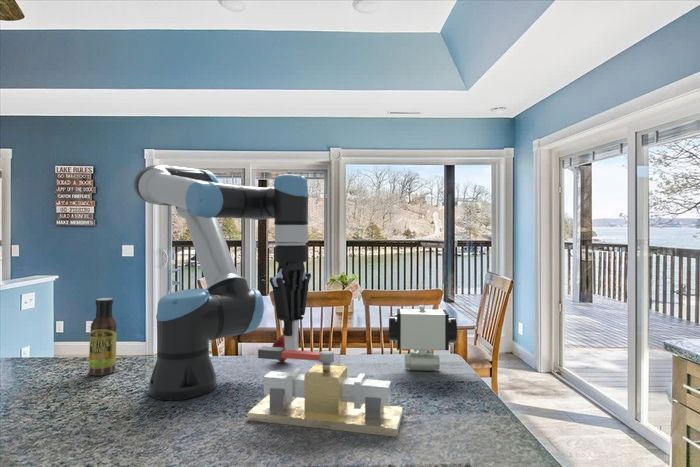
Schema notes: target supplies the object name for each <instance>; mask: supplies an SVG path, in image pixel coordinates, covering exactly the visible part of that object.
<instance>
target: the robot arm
mask: <svg viewBox="0 0 700 467" xmlns="http://www.w3.org/2000/svg"><path fill="white" fill-rule="evenodd" d="M133 190H134V192H135V195H137V197H138V198H139V199H141V200H142V201H143V202H145V203H149V204H150V205H151V204H152V205H158V206H169V207H174V208H175V210H176V212H177V214H178V216H179V217H180V218H182V219H185V222H186V225H187V229H188V232H189V235H190V237H191V240H192V244H193V248H194V250H195V253H196V255H197V259H198V262H199V266H200V268H201V271H202V275H203V278H204V281H205V283H206V288H198V287H197V288H190V289H189V288H186V289H183V290H178V291H177V290H176V291H173V292H170V293H167V294H165V295H163V296H162V297H160V298H159V299H158V302H157V306H156V308H157V310H156V315H155V319H156V351H157V352H156V361H155V364H154V367H153V371H152V373H151V377H150V380H149V383H148V395H149V397H151V398H153V399H156V400H160V401H180V400H188V399H194V398H197V397H200V396H204V395H206V394H207V393H210V392H211V391H213V390H214V389H216V387H217V374H216V371H215V369H214V366H213V362H212V358H211V357H210V352H209V351H210V349H209V348H210V341H212V340H213V341H214V340H219V339H223V338H229V337H233V336H242V335H244V334H247V333H250V332H254V331H255V330H257V329H258V327H259V326H260V324H261V323H262V321H263V318H264V313H265V312H264V311H265V303H264V298H263V295H262V294H261V292H260V290H258V289H257V288H253V287H249V283H248V282H247V279H246V278H245V277H244V276H240V275H239V274H238V273H239V272H238V271H237V269H236V266H235V263H234V260H233V257H232V254H231V252H230V250H229V246H228V243H227V240H226V238H225V235H224V233H223V229H222V227H221V225H220V222H219V219H220V218H221V219H222V218H225V219H227V218H228V219H229V218H230V219H249V220H259V221H262V220H271V219H273V220H274V222H273V224H274V243H276V245H275V246H274V249H273V250H274V252H273V253H274V254H273V255H274V256H273V257H274V259H273V260H274V262H276V263H277V264H278V266H277V270H276V273H277V274H276V275H275V276H274V277H273V276H272V277H269V283H270V285H271V287H272V292H273V299H274V300H273V301H274V306H275V311H276V319H278V320H279V321H282V322H283V335H284V336H285V337H284V338H285V350H297V351H299V331H300V330H299V329H300V322H299V321H300V320H303V319H304V315H305V313H306V307H307V306H306V305H307V297H308V290H309V283H310V281H311V277H312V274H311V273H310V272H307V271H306V268H305V264H304V263H305V262H308V260H309V246H308V245H306V244H307V243H309V195H310V194H309V183H308V179H307V178H306V177H305V176H303V175H299V174H279V175H277V176H275V178H274V180H273V186H267V187H263V186H262V187H261V186H260V187H258V186H249V185H238V184H235V185H234V184H227V183H221V182H219V180H218V178H217V177H216V175H215V174H214V173H213V172H211V171H209V170H205V169H202V168H197V167H196V168H190V167H189V168H188V167H183V166H181V167H179V166H174V165H173V166H172V165H166V164H154V165H149V166H146V167H143V168H141V170H139V171H138V172H137V174H135V177H134V180H133Z"/></svg>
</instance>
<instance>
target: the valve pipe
mask: <svg viewBox="0 0 700 467" xmlns="http://www.w3.org/2000/svg"><path fill="white" fill-rule="evenodd" d="M263 394H264V395H266V396H264V398H262V399H261V400H259V402H258V403H257V404H255V405H254V406H253V407H252V408H251V409H250V410H249V411H248V412H247V421H252V422H255V421H256V422H262V423H269V424H270V423H271V424H278V425H279V424H281V425H287V426H288V425H289V426H297V427H306V428H315V429H325V430H331V431H341V432H351V433H358V434H359V433H360V434H368V435H378V436H386V437H395V438H397V437H398V433H399V430H400V425H401V421H402V419H403V415H402V414H403V412H404V411H403V410H404V409H403V408H404V407H403V406H396V405H390V402H391V400H392V381H391V380H380V379H369V378H366V373H359V374H358V375H357V377H348V366H345V365H331V363H322V364H321V363H319V364H316V363H315V364H313V366H312V367H311V368H310V369H308V370H307V372H306V373H302V368H297V367H296V368H294V369H293V370H292V371H291V372H284V371H269V372H268V373H266V374H265V375H264V376H263Z"/></svg>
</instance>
